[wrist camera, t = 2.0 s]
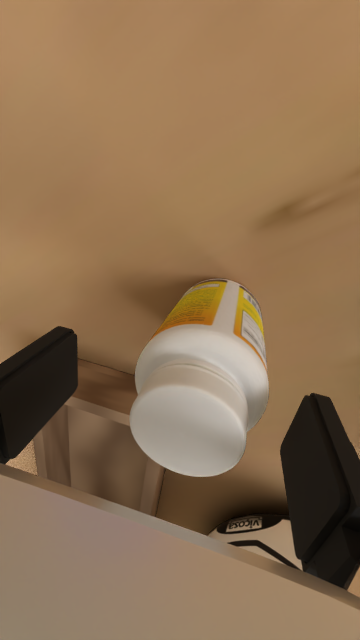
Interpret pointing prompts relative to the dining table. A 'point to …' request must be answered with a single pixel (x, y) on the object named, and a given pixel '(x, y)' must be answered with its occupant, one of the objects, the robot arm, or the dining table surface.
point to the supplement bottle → (202, 381)
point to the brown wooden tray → (99, 443)
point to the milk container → (261, 537)
